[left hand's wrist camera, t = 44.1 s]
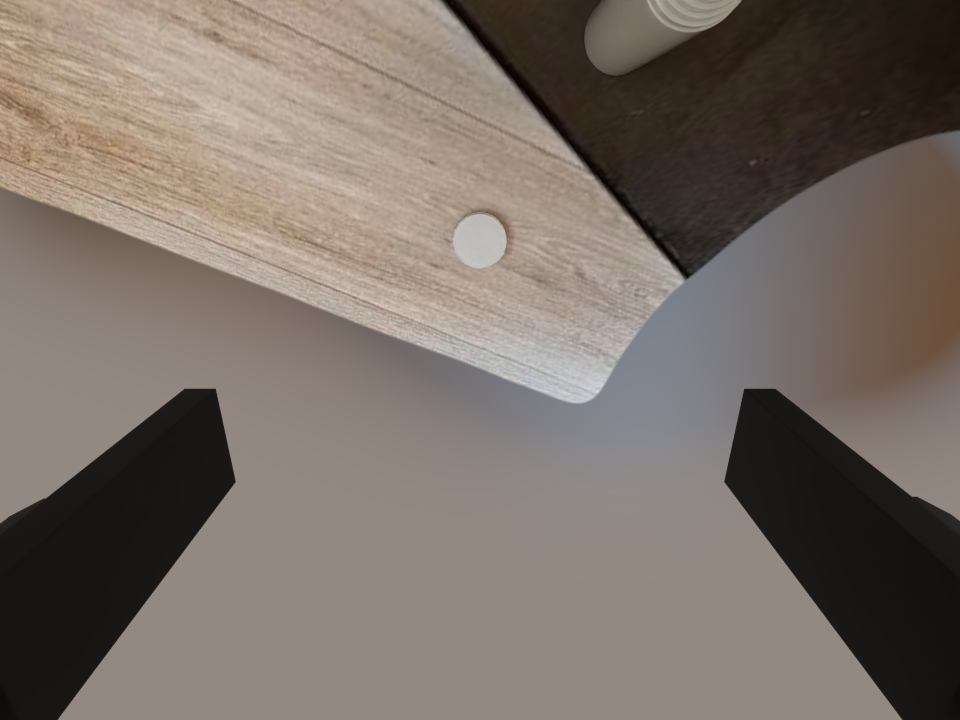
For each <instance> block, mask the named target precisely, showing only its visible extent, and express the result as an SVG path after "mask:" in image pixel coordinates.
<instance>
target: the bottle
mask: <svg viewBox="0 0 960 720" xmlns="http://www.w3.org/2000/svg"><path fill="white" fill-rule="evenodd" d="M740 2H741V0H601V1H600V2H599V4H598V5H597V6H596V8H595V9H594V10H593V12H592V13H591V15H590V17H589V19H588V22H587V25H586V29H585V36H584V42H585V49H586V52H587V55H588V57H589V59H590V61H591V62H592V64H593V65H594V66H595V67H596V68H597V69H598V70H600V71H601V72H603V73H606V74H608V75H624V74H627V73H630V72H632V71H633V70H635V69H637V68H639V67H641V66H642V65H644V64H646V63H648V62H650V61H651V60H653V59H655V58H657V57H659V56H660V55H662V54H664V53H666V52H668V51H670V50H671V49H673V48H675V47H677V46H679V45H680V44H682V43H684V42H686V41H688V40H689V39H691V38H693V37H695V36H697V35H698V34H700V33H702V32H704V31H706V30H707V29H709V28H711V27H713V26H714V25H716V24H718V23H719V22H721V21H722V20H723V19H725V18H726V17H727V16H728V15H729V14H730V13H731V12H732V11H733V9H735V8H736V6H737V5H738V4H739V3H740Z"/></svg>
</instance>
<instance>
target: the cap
mask: <svg viewBox="0 0 960 720" xmlns="http://www.w3.org/2000/svg"><path fill="white" fill-rule="evenodd" d="M506 237H507V235H506V234H505V228H504V227H503V226H502V224H501V222H500V220H498V219H497V218H496V217H495V216H493V215H491V214H488V212H487V213H485V212H480V211H479V212H475V213H471V214H469V215H467V216H464V218H463V219H462V220H461V221H459V223H458V225H457V227H455V232H454V235H453V247H454V250H455V253H456V255H457V256H458V258H459V259H460V260H461V261H462V262H463V263H464V264H466V265H468V266H470V267H473V268H487V267H490V266H492V265H494V264H495V263H496V262H498V261H499V260H500V259H501V257H502V256H503V254H504V252H505V249H506V245H507V239H506Z"/></svg>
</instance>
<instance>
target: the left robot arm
mask: <svg viewBox="0 0 960 720" xmlns="http://www.w3.org/2000/svg"><path fill="white" fill-rule="evenodd" d="M235 482H236V481H235V476H234V472H233V467H232V462H231V458H230V453H229V449H228V444H227V439H226V435H225V430H224V425H223V421H222V416H221V411H220V407H219V402H218V397H217V393H216V389H184V390H183V391H181V392H180V393H179V394H178V395H176V396H175V397H174V398H173V399H171V400H170V401H169V402H168V403H166V404H165V405H164V406H162V407H161V408H160V409H159V410H157V411H156V412H155V413H154V414H152V415H151V416H150V417H149V418H147V419H146V420H145V421H143V422H142V423H141V424H140V425H138V426H137V427H136V428H135V429H133V430H132V431H131V432H130V433H128V434H127V435H126V436H124V437H123V438H122V439H121V440H120V441H118V442H117V443H116V444H114V445H113V446H112V447H111V448H109V449H108V450H107V451H105V452H104V453H103V454H102V455H101V456H99V457H98V458H97V459H95V460H94V461H93V462H92V463H90V464H89V465H88V466H87V467H85V468H84V469H83V470H81V471H80V472H79V473H78V474H76V475H75V476H74V477H73V478H71V479H70V480H69V481H68V482H66V483H65V484H64V485H62V486H61V487H60V488H59V489H57V490H56V491H55V492H54V493H52V494H51V495H50V496H49V497H47V498H46V499H42V500H40V501H38V502H36V503H34V504H32V505H30V506H29V507H27V508H25V509H23V510H21V511H19V512H17V513H15V514H13V515H11V516H10V517H8V518H7V519H6V520H4V521H3V522H2V523H0V720H58V718H59V717H60V716H61V714H62V713H63V712H64V710H65V709H66V708H67V706H68V705H69V704H70V702H71V701H72V700H73V698H74V697H75V696H76V694H77V693H78V692H79V690H80V689H81V688H82V686H83V685H84V684H85V682H86V681H87V680H88V678H89V677H90V676H91V674H92V673H93V672H94V670H95V669H96V668H97V666H98V665H99V664H100V662H101V661H102V660H103V658H104V657H105V656H106V654H107V653H108V652H109V650H110V649H111V648H112V646H113V645H114V644H115V642H116V641H117V640H118V638H119V637H120V636H121V634H122V633H123V632H124V630H125V629H126V628H127V626H128V625H129V624H130V622H131V621H132V620H133V618H134V617H135V616H136V614H137V613H138V612H139V610H140V609H141V608H142V606H143V605H144V604H145V602H146V601H147V600H148V598H149V597H150V596H151V594H152V593H153V592H154V590H155V589H156V588H157V586H158V585H159V584H160V582H161V581H162V579H163V578H164V577H165V576H166V574H167V573H168V572H169V570H170V569H171V568H172V566H173V565H174V564H175V562H176V561H177V560H178V558H179V557H180V556H181V554H182V553H183V552H184V550H185V549H186V547H187V546H188V545H189V543H190V542H191V541H192V539H193V538H194V537H195V535H196V534H197V533H198V531H199V530H200V529H201V527H202V526H203V525H204V523H205V522H206V521H207V519H208V518H209V517H210V515H211V514H212V513H213V511H214V510H215V509H216V507H217V506H218V505H219V503H220V502H221V501H222V499H223V498H224V497H225V495H226V494H227V493H228V491H229V490H230V489H231V487H232V486H233V485H234V483H235ZM724 482H725V483H726V485H727V486H728V487H729V489H730V490H731V491H732V493H733V494H734V495H735V497H736V498H737V499H738V501H739V502H740V503H741V505H742V506H743V507H744V509H745V510H746V511H747V513H748V514H749V515H750V517H751V518H752V519H753V521H754V522H755V523H756V525H757V526H758V527H759V529H760V530H761V531H762V533H763V534H764V535H765V537H766V538H767V539H768V541H769V542H770V543H771V545H772V546H773V548H774V549H775V550H776V552H777V553H778V554H779V555H780V557H781V558H782V559H783V561H784V562H785V563H786V565H787V566H788V567H789V569H790V570H791V572H792V573H793V574H794V576H795V577H796V578H797V580H798V581H799V582H800V584H801V585H802V586H803V587H804V589H805V590H806V592H807V593H808V594H809V596H810V597H811V598H812V599H813V601H814V602H815V603H816V605H817V606H818V608H819V609H820V610H821V612H822V613H823V614H824V616H825V617H826V618H827V620H828V621H829V622H830V624H831V625H832V626H833V628H834V629H835V630H836V632H837V633H838V634H839V636H840V637H841V638H842V640H843V641H844V642H845V644H846V645H847V646H848V648H849V649H850V650H851V652H852V653H853V654H854V656H855V657H856V658H857V660H858V661H859V662H860V664H861V665H862V666H863V668H864V669H865V670H866V672H867V673H868V674H869V676H870V677H871V678H872V680H873V681H874V682H875V684H876V685H877V686H878V688H879V689H880V690H881V692H882V693H883V694H884V696H885V697H886V698H887V700H888V701H889V702H890V704H891V705H892V706H893V708H894V709H895V710H896V712H897V713H898V714H899V716H900V717H901V718H902V720H960V521H959V520H958V519H956V518H955V517H954V516H952V515H951V514H949V513H947V512H945V511H943V510H941V509H940V508H938V507H936V506H934V505H932V504H930V503H928V502H926V501H924V500H922V499H920V498H918V497H911V496H910V495H909V494H908V493H906V492H905V491H904V490H903V489H901V488H900V487H899V486H897V485H896V484H895V483H894V482H892V481H891V480H890V479H889V478H887V477H886V476H885V475H884V474H882V473H881V472H880V471H879V470H877V469H876V468H875V467H873V466H872V465H871V464H870V463H868V462H867V461H866V460H865V459H863V458H862V457H861V456H860V455H858V454H857V453H856V452H855V451H853V450H852V449H851V448H849V447H848V446H847V445H846V444H844V443H843V442H842V441H841V440H839V439H838V438H837V437H835V436H834V435H833V434H832V433H830V432H829V431H828V430H827V429H825V428H824V427H823V426H822V425H820V424H819V423H818V422H817V421H815V420H814V419H813V418H811V417H810V416H809V415H808V414H806V413H805V412H804V411H803V410H801V409H800V408H799V407H798V406H796V405H795V404H794V403H792V402H791V401H790V400H789V399H787V398H786V397H785V396H784V395H782V394H781V393H780V392H779V391H777V390H776V389H744V393H743V397H742V402H741V407H740V411H739V416H738V421H737V425H736V430H735V435H734V439H733V444H732V449H731V453H730V458H729V462H728V467H727V472H726V476H725V481H724Z"/></svg>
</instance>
